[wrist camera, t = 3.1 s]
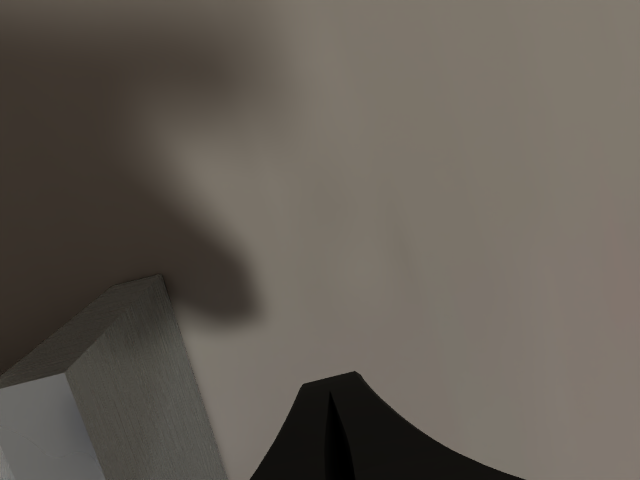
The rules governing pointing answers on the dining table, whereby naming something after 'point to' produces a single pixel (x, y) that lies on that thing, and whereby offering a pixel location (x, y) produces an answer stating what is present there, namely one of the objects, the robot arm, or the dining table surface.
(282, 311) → the dining table surface
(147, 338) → the silver metal piece
